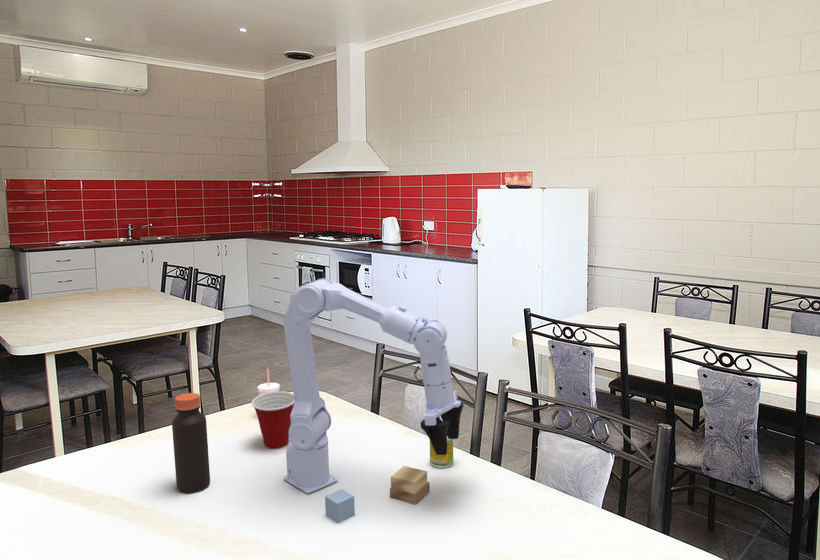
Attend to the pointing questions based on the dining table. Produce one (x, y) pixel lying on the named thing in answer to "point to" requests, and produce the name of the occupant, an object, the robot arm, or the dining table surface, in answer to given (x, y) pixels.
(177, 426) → the vinegar
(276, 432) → the plastic cup
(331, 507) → the slate blue cube
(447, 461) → the supplement bottle
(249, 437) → the dining table surface
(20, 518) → the dining table surface
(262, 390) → the beverage cup
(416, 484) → the oak slab
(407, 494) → the walnut slab
